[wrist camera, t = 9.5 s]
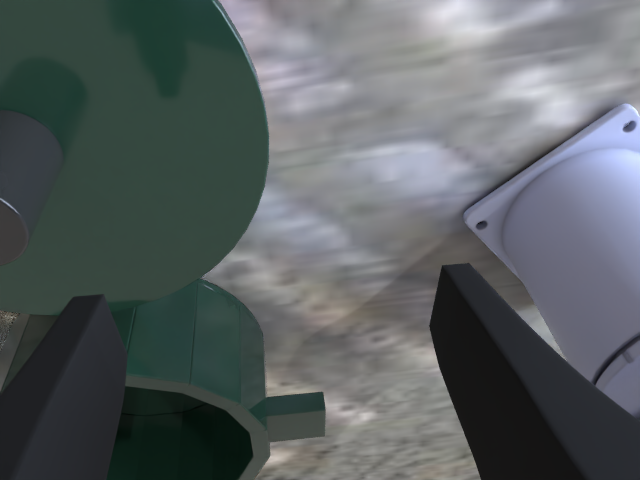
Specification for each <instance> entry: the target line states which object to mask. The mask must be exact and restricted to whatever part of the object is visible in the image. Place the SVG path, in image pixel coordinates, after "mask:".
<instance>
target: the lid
mask: <svg viewBox="0 0 640 480" xmlns="http://www.w3.org/2000/svg"><path fill="white" fill-rule="evenodd" d="M268 163H269V130H268V122H267V115H266V108H265V101H264V97H263V94H262V90H261V87H260V83H259V80H258V76H257V73H256V69H255V67H254V65H253V63H252V60H251V58H250V56H249V53H248V51H247V49H246V47H245V44H244V42H243V40H242V38H241V36H240V34H239V33H238V31H237V29H236V28H235V26H234V24H233V23H232V21H231V19H230V18H229V16H228V14H227V13H226V11H225V9H224V8H223V6H222V5H221V3H220V2H219V1H218V0H0V311H5V312H14V313H22V314H30V315H48V316H59V315H60V314H61V312H62V311H63V309H64V308H65V307H66V305H67V304H68V302H69V301H70V300H71V299H72V298H73V297H76V296H87V295H99V294H104V296H105V299H106V301H107V304H108V306H109V309H110V311H111V312H114V311H119V310H123V309H128V308H132V307H137V306H140V305H143V304H146V303H149V302H152V301H155V300H158V299H161V298H163V297H165V296H168V295H170V294H172V293H174V292H177V291H179V290H181V289H183V288H184V287H186V286H188V285H189V284H191V283H193V282H194V281H196V280H198V279H199V278H201V277H202V276H203V275H205V274H206V273H207V272H208V271H210V270H211V269H212V268H214V267H215V266H216V265H217V264H218V263H219V262H220V261H221V260H222V259H223V258H224V257H225V256H226V255H227V254H228V253H229V252H230V251H231V250H232V249H233V248H234V247H235V245H236V244H237V242H238V241H239V240H240V238H241V237H242V235H243V234H244V233H245V231H246V230H247V228H248V226H249V224H250V222H251V220H252V218H253V216H254V214H255V213H256V211H257V208H258V205H259V202H260V199H261V196H262V193H263V190H264V187H265V182H266V175H267V169H268Z"/></svg>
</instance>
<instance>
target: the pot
mask: <svg viewBox="0 0 640 480" xmlns="http://www.w3.org/2000/svg"><path fill="white" fill-rule="evenodd" d="M111 314H112V316H113V319H114V321H115V324H116V326H117V329H118V331H119V334H120V336H121V339H122V341H123V344H124V346H125V349H126V351H127V354H128V357H127V369H126V381H125V391H124V401H123V405H122V410H121V415H120V420H119V424H118V429H117V434H116V438H115V443H114V447H113V452H112V456H111V461H110V465H109V470H108V474H107V479H106V480H254V479H255V478H256V476H257V475H258V473H259V472H260V470H261V469H262V467H263V466H264V464H265V463H266V461H267V460H268V459H269V457H270V442H276V441H285V440H295V439H304V438H313V437H323V436H325V412H326V409H325V402H324V395H323V392H315V393H305V394H294V395H284V396H274V397H267V376H266V358H265V349H264V339H263V333H262V331H261V329H260V326H259V324H258V322H257V320H256V319H255V317H254V316H253V314H252V313H251V312H250V311H249V310H248V309H247V308H246V306H245V305H244V304H243V303H241V302H240V301H239V300H238V299H236V298H235V297H234V296H233V295H231V294H230V293H228V292H226V291H225V290H223V289H222V288H220V287H218V286H216V285H214V284H212V283H209V282H207V281H205V280H202V279H200V278H199V279H198V280H196V281H194V282H193V283H191V284H189V285H188V286H186V287H184V288H183V289H181V290H179V291H177V292H174V293H172V294H170V295H168V296H165V297H163V298H161V299H158V300H155V301H152V302H149V303H146V304H143V305H140V306H137V307H132V308H128V309H123V310H119V311H114V312H111ZM57 318H58V316H48V315H30V314H22V313H20V314H19V316H18V318H17V319H16V320H15V321H14V322H13V323H12V325H11V327H10V330H9V332H8V335H7V337H6V340H5V342H4V344H3V347H2V349H1V352H0V394H1V393H2V392H3V391H4V389H5V388H6V387H7V385H8V384H9V383H10V382H11V380H12V379H13V378H14V376H15V375H16V374H17V372H18V371H19V370H20V368H21V367H22V366H23V365H24V363H25V362H26V361H27V359H28V358H29V357H30V355H31V354H32V353H33V351H34V350H35V348H36V347H37V346H38V344H39V343H40V342H41V340H42V339H43V337H44V336H45V335H46V333H47V332H48V330H49V329H50V328H51V326H52V325H53V323H54V322H55V321H56V319H57Z"/></svg>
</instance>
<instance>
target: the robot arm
mask: <svg viewBox="0 0 640 480" xmlns="http://www.w3.org/2000/svg"><path fill="white" fill-rule="evenodd" d="M628 122H630V123H629V124H628V125H627V126H626V127H624V125H625V124H626V123H628ZM623 127H624V128H623ZM463 219H464V221H465V223H466V225H467V226H468V227H469V228H470V229H471V230H472V231H473V232H474V233H475V234H476V235H477V236H478V237H479V238H480V239H481V240H482V242H483V243H484V244H485V245H486V246H487V247H488V248H489V249H490V250H491V251H492V252H493V253H494V254H495V255H496V256H497V257H498V258H499V259H500V260H501V261H502V262H503V263H504V264H505V265H506V266H507V267H508V268H509V269H510V270H511V271H512V272H513V273H514V274H515V275H516V276H517V277H518V278H519V279H520V280H521V281H522V282H523V284H524V285H525V287H526V289H527V291H528V292H529V294H530V296H531V298H532V300H533V301H534V303H535V305H536V307H537V308H538V310H539V312H540V314H541V316H542V317H543V319H544V321H545V323H546V325H547V326H548V328H549V330H550V332H551V333H552V335H553V337H554V339H555V341H556V342H557V344H558V346H559V348H560V349H561V351H562V353H563V355H564V357H565V358H566V360H567V361H566V360H564V359H563V358H562V357H561V356H560V355H559V354H558V353H557V352H556V351H555V350H554V349H553V348H551V347H550V346H549V345H548V344H547V343H546V342H545V341H544V340H543V339H542V338H541V337H540V336H539V335H538V334H537V333H536V332H535V331H534V330H533V329H532V328H531V327H530V326H529V325H528V324H527V323H526V322H525V321H524V320H523V319H522V318H521V317H520V316H519V315H518V314H517V313H516V312H515V311H514V310H513V309H512V308H511V307H510V306H509V305H508V304H507V303H506V302H505V301H504V300H503V299H502V297H501V296H500V295H499V294H498V293H497V292H496V291H495V290H494V289H493V288H492V287H491V286H490V285H489V284H488V283H487V281H486V280H485V279H484V278H483V277H482V276H481V275H480V274H479V273H478V272H477V271H476V270H475V269H474V268H473V267H472V266H471V265H470V264H469V263H465V264H454V265H442V268H441V272H440V277H439V282H438V287H437V291H436V296H435V301H434V306H433V310H432V315H431V320H430V325H429V327H430V331H431V336H432V340H433V344H434V348H435V352H436V356H437V360H438V364H439V368H440V370H441V373H442V376H443V379H444V381H445V384H446V387H447V389H448V392H449V395H450V397H451V400H452V402H453V405H454V408H455V410H456V413H457V415H458V418H459V421H460V423H461V426H462V428H463V431H464V434H465V436H466V439H467V441H468V444H469V447H470V449H471V452H472V454H473V457H474V460H475V463H476V466H477V468H478V471H479V474H480V477H481V480H640V116H639V114H638V112H637V111H636V110H635V109H634V108H633V107H632V106H631V105H630V104H621V105H619V106H617V107H615V108H614V109H612V110H611V111H609V112H608V113H607V114H605V115H604V116H602V117H601V118H599V119H598V120H596V121H595V122H593V123H592V124H591V125H589V126H588V127H586V128H585V129H583V130H582V131H580V132H579V133H577V134H576V135H575V136H573V137H572V138H570V139H569V140H567V141H566V142H564V143H563V144H562V145H560V146H559V147H557V148H556V149H554V150H553V151H551V152H550V153H548V154H547V155H546V156H544V157H543V158H541V159H540V160H538V161H537V162H535V163H534V164H532V165H531V166H530V167H528V168H527V169H525V170H524V171H522V172H521V173H519V174H518V175H516V176H515V177H514V178H512V179H511V180H509V181H508V182H506V183H505V184H503V185H502V186H501V187H499V188H498V189H496V190H495V191H493V192H492V193H490V194H489V195H487V196H486V197H485V198H483V199H482V200H480V201H479V202H477V203H476V204H474V205H473V206H471V207H470V208H469V209H467V210H466V211H465V213H464V214H463ZM481 221H483V222H482V223H481V224H478V223H479V222H481ZM127 357H128V354H127V351H126V349H125V346H124V344H123V341H122V339H121V336H120V334H119V331H118V329H117V326H116V324H115V321H114V319H113V316H112V314H111V311H110V309H109V306H108V304H107V301H106V299H105V296H104V294H99V295H87V296H76V297H73V298H72V299H71V300H70V301H69V302H68V304H67V305H66V307H65V308H64V309H63V311H62V312H61V314H60V315H59V316H58V318H57V319H56V321H55V322H54V323H53V325H52V326H51V328H50V329H49V330H48V332H47V333H46V335H45V336H44V337H43V339H42V340H41V342H40V343H39V344H38V346H37V347H36V348H35V350H34V351H33V353H32V354H31V355H30V357H29V358H28V359H27V361H26V362H25V363H24V365H23V366H22V367H21V368H20V370H19V371H18V372H17V374H16V375H15V376H14V378H13V379H12V380H11V382H10V383H9V384H8V385H7V387H6V388H5V389H4V391H3V392H2V393H1V394H0V480H106V479H107V474H108V470H109V465H110V461H111V456H112V452H113V447H114V443H115V438H116V434H117V429H118V424H119V420H120V415H121V410H122V405H123V401H124V391H125V381H126V369H127Z"/></svg>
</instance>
